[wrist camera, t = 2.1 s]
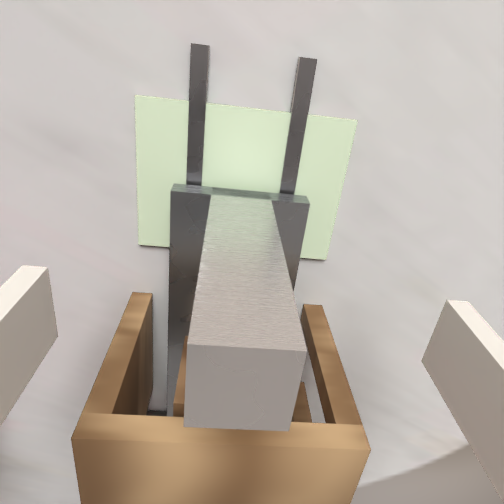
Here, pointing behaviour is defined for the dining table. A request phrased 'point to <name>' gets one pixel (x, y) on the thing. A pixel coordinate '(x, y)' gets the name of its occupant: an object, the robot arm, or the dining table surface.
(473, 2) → the dining table surface
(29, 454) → the dining table surface
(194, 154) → the rails
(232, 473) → the tunnel
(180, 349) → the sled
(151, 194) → the pad
